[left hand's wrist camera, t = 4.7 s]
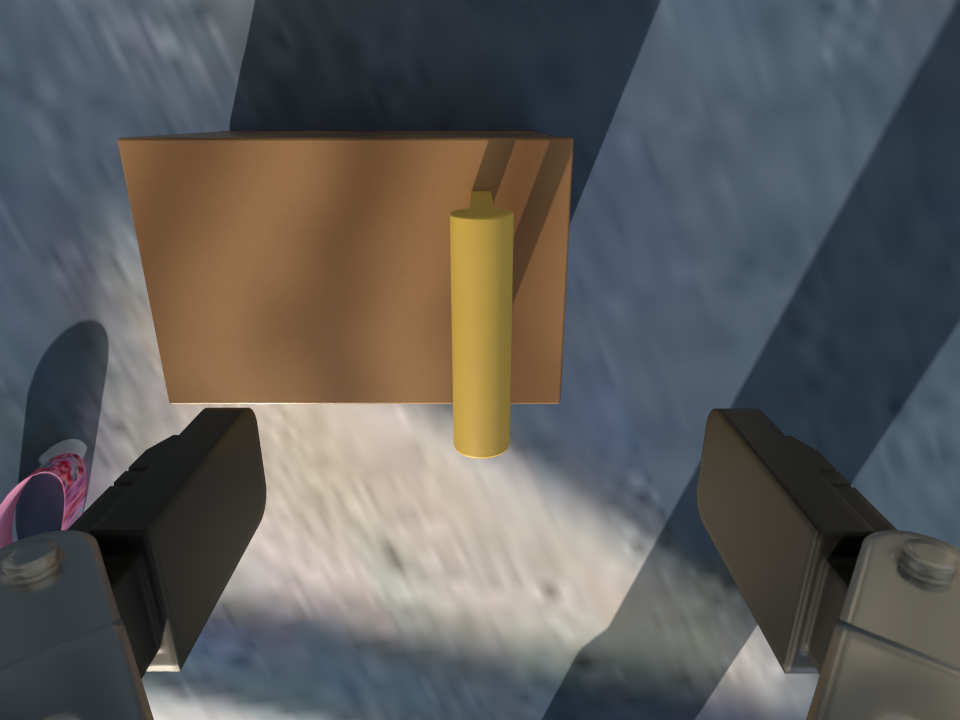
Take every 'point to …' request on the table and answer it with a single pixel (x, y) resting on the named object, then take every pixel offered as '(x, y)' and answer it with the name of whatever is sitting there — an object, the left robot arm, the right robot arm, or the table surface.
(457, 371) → the lid
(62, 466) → the pink curved piece
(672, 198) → the table surface
